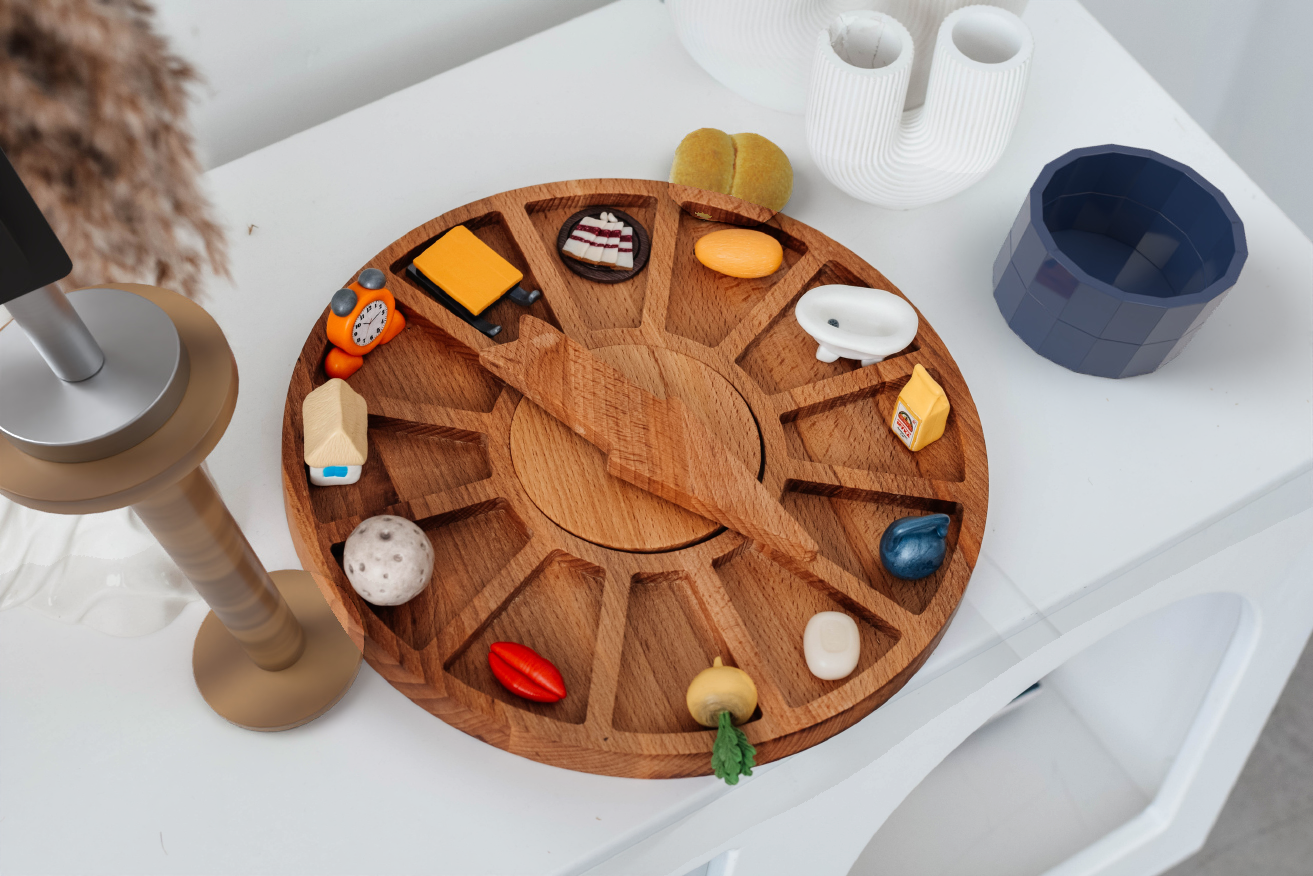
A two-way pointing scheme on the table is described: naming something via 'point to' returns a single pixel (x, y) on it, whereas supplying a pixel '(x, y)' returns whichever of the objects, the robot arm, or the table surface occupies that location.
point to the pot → (1117, 260)
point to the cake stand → (207, 543)
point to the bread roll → (734, 167)
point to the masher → (87, 372)
